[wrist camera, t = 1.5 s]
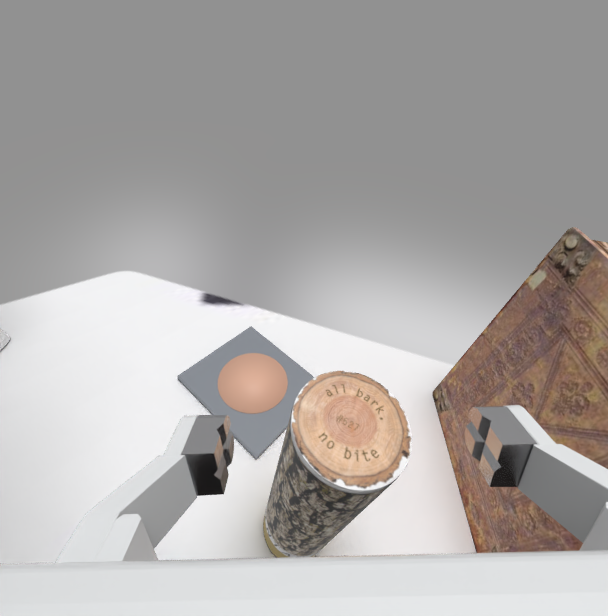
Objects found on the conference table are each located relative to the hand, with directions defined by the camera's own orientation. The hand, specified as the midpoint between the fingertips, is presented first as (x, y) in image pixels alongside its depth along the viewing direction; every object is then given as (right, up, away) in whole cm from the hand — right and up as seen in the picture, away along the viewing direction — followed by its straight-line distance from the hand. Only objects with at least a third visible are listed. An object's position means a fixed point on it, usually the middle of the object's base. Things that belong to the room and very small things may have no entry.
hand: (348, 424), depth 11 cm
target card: (-9, -7, +36) cm, 37 cm away
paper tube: (-3, -20, +24) cm, 32 cm away
